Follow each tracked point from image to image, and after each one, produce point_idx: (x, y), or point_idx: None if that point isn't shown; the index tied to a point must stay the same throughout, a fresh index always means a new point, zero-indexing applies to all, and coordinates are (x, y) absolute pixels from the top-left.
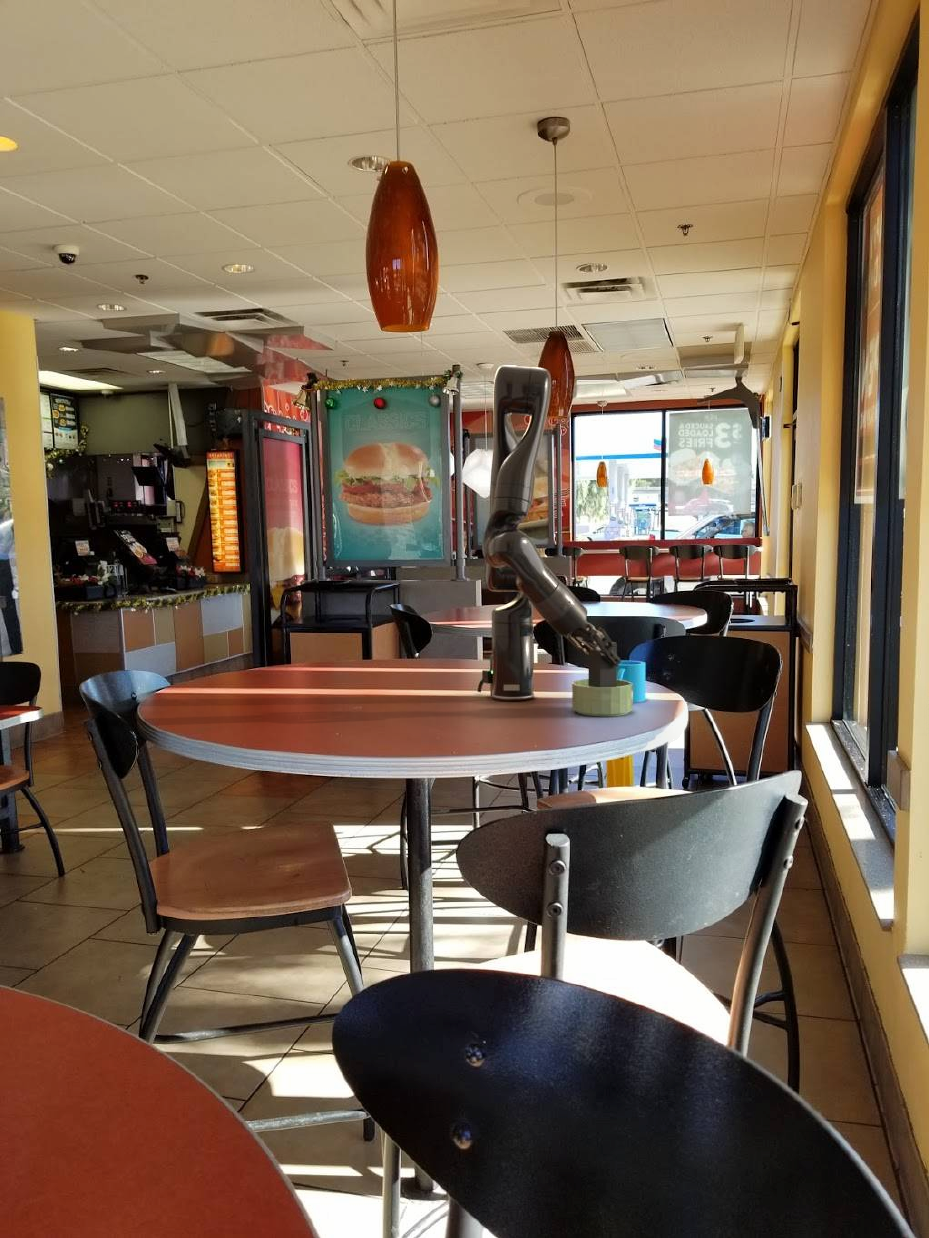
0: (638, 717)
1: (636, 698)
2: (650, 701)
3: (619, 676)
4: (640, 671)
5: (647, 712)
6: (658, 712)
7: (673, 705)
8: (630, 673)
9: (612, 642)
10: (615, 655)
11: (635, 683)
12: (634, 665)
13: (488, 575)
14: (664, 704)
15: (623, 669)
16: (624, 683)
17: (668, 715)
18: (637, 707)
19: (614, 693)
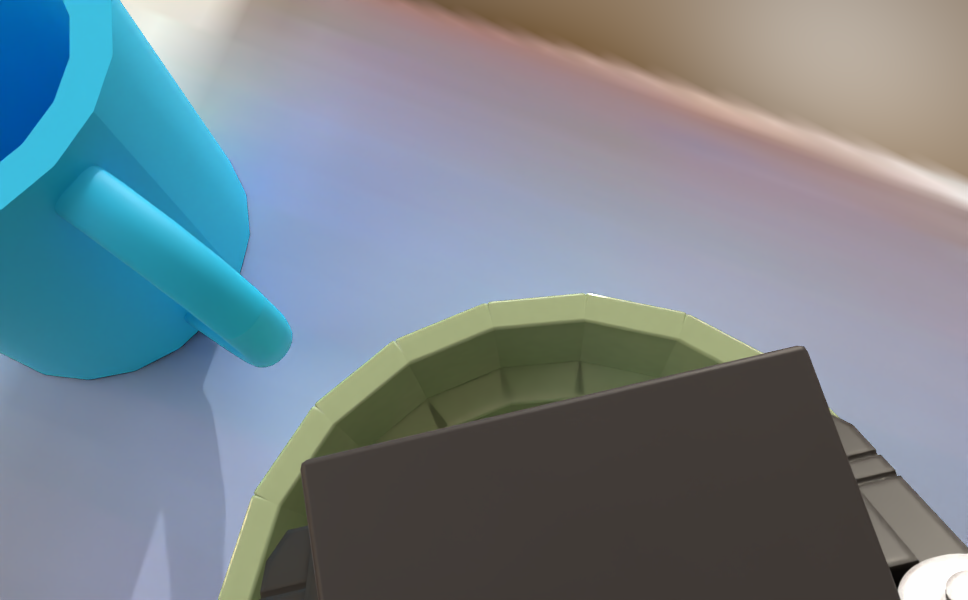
0: (867, 427)
1: (237, 201)
2: (244, 113)
3: (216, 286)
4: (139, 36)
5: (668, 286)
6: (685, 213)
7: (446, 33)
8: (140, 139)
9: (741, 422)
10: (906, 489)
11: (193, 148)
12: (114, 54)
13: None
14: (390, 70)
15: (115, 188)
16: (489, 341)
17: (817, 192)
18: (445, 280)
19: None
